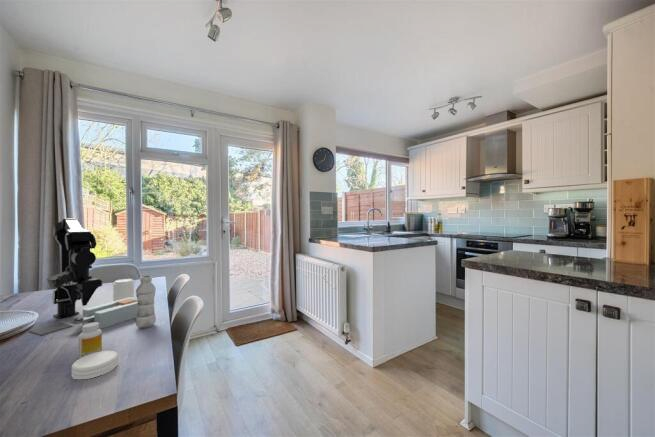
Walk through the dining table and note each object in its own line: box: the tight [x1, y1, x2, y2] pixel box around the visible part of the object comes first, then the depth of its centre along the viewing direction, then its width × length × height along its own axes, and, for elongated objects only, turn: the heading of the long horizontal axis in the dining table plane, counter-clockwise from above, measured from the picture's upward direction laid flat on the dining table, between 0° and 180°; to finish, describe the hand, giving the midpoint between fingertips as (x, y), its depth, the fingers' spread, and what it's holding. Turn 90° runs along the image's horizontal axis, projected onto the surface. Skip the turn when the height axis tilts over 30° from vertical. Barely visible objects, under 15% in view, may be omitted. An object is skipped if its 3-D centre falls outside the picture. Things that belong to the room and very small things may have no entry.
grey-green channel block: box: [81, 297, 138, 330], centre depth 113 cm, size 18×12×6 cm, turn 157°
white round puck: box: [70, 350, 119, 380], centre depth 76 cm, size 10×10×4 cm
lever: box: [70, 314, 94, 325], centre depth 110 cm, size 21×4×1 cm, turn 157°
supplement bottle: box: [78, 322, 103, 359], centre depth 84 cm, size 5×5×10 cm
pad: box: [28, 321, 73, 337], centre depth 103 cm, size 9×9×1 cm
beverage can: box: [112, 278, 135, 302], centre depth 132 cm, size 8×8×12 cm
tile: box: [117, 299, 136, 306], centre depth 117 cm, size 5×5×2 cm
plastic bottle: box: [135, 275, 157, 329], centre depth 105 cm, size 6×7×20 cm
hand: (78, 304), depth 102 cm, fingers open, 7 cm apart
